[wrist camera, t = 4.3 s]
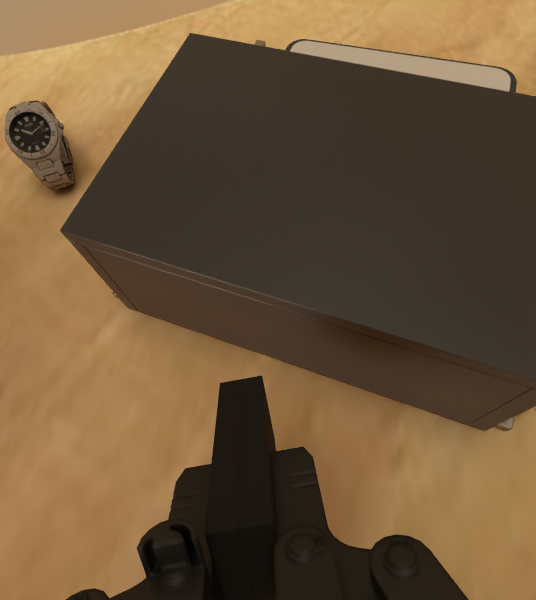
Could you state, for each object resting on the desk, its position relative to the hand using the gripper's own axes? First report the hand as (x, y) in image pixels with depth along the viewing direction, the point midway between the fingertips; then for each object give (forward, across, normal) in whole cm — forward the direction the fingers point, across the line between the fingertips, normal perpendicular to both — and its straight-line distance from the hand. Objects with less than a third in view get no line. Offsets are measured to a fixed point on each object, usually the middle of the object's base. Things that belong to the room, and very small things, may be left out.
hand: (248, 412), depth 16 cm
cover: (+12, +5, +2) cm, 13 cm away
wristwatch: (+20, -11, +10) cm, 25 cm away
